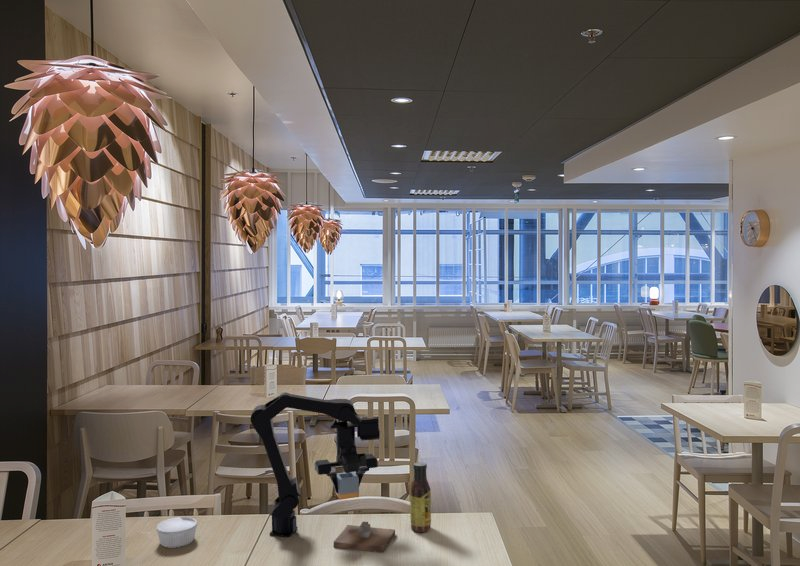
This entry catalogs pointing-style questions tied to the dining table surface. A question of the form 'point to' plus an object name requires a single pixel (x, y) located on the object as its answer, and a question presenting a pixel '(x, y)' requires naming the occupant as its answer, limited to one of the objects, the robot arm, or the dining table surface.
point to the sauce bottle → (420, 499)
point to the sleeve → (347, 485)
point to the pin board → (364, 538)
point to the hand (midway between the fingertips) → (346, 491)
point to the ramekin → (176, 531)
